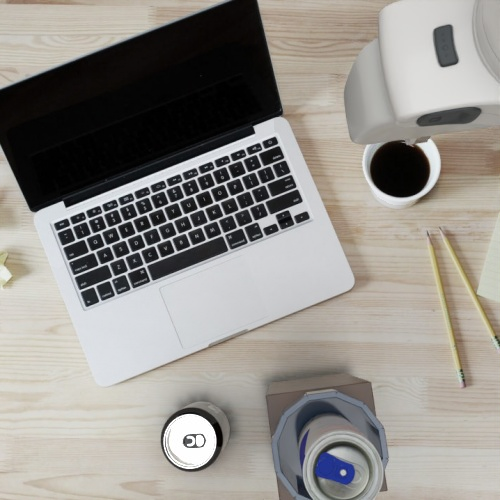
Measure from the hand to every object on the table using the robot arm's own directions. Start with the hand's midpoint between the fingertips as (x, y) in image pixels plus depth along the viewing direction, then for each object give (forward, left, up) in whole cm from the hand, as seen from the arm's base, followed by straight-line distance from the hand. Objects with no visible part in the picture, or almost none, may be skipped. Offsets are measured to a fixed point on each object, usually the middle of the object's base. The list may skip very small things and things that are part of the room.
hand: (480, 124), depth 51 cm
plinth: (+14, +22, -39) cm, 47 cm away
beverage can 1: (+27, +22, -39) cm, 53 cm away
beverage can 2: (+13, +22, -12) cm, 28 cm away
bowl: (+14, +22, -12) cm, 29 cm away
